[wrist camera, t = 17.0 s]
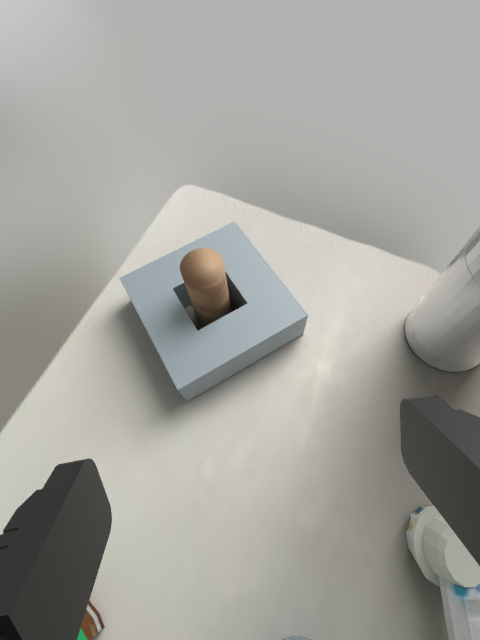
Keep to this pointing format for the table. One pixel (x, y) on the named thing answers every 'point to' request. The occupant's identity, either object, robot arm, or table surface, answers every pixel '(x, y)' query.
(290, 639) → the teal plant pot
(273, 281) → the socket block
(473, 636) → the toothbrush head
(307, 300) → the table surface
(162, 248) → the table surface
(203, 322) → the peg
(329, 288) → the table surface
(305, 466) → the table surface
